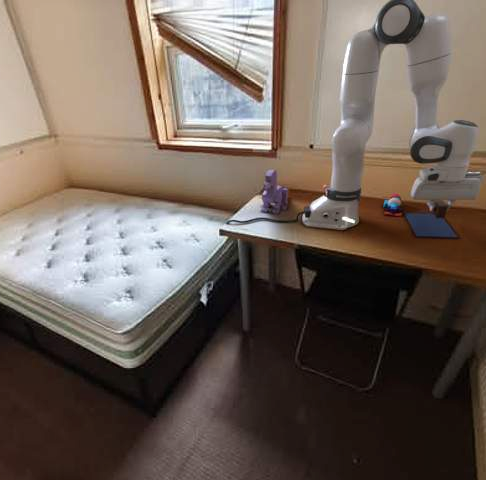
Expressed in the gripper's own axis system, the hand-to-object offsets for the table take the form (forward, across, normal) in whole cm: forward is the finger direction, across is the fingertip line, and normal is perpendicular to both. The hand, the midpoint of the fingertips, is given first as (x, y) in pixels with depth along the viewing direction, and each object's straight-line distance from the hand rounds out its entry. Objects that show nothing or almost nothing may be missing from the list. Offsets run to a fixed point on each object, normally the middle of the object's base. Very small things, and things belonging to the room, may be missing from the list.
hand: (438, 210), depth 119 cm
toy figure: (+8, +10, -19) cm, 23 cm away
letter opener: (+2, 0, -3) cm, 4 cm away
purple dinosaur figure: (+7, +60, -20) cm, 64 cm away
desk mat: (+8, 0, -4) cm, 9 cm away
